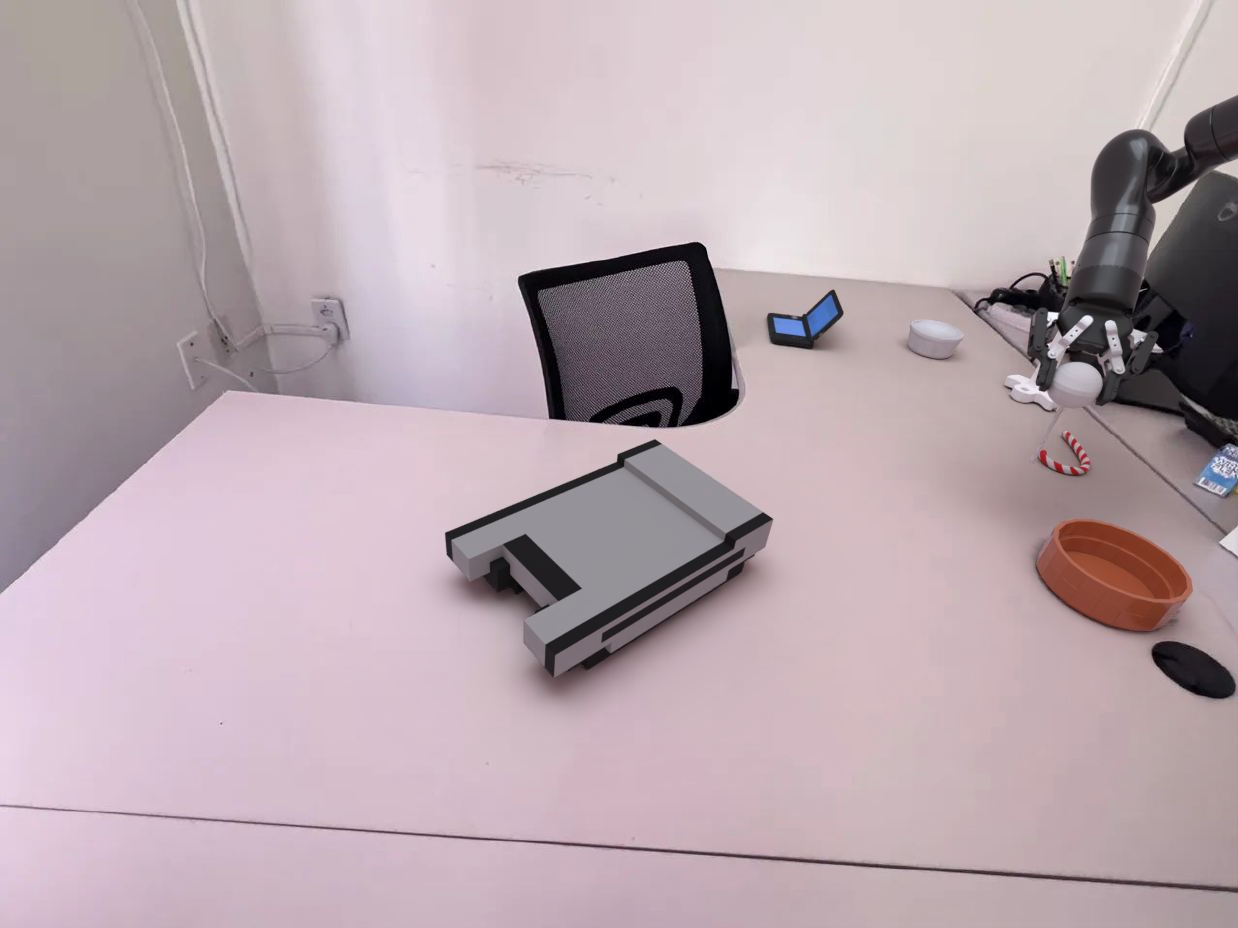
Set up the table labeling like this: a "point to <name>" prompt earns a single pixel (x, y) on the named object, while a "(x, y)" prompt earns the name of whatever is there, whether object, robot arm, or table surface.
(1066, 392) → the lollipop
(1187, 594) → the bowl
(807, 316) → the game console
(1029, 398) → the joystick
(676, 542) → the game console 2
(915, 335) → the ramekin
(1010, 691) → the table surface
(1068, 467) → the candy cane
